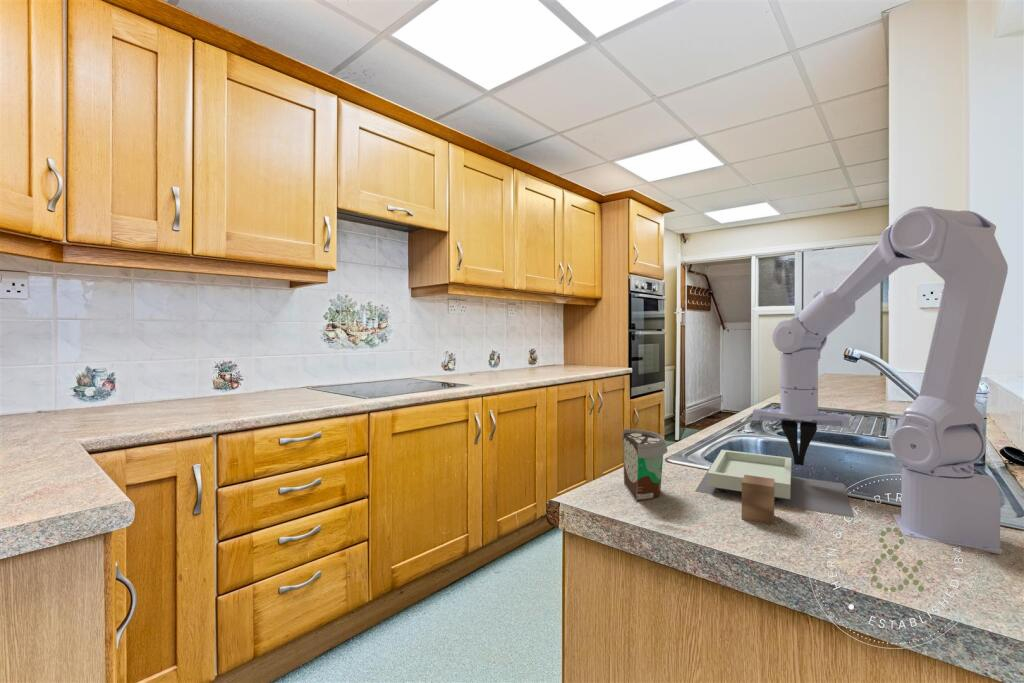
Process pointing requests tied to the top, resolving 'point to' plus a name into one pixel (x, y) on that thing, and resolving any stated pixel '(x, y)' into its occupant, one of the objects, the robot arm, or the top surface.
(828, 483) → the mat
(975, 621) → the top surface
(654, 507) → the top surface
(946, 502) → the robot arm
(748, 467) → the pale green tray
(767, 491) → the walnut block
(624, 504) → the top surface
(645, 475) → the food container
